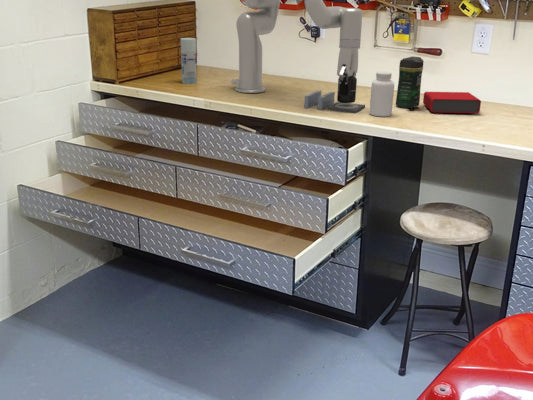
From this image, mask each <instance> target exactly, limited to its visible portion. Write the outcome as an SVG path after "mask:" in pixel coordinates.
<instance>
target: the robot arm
mask: <svg viewBox="0 0 533 400" xmlns="http://www.w3.org/2000/svg"><path fill="white" fill-rule="evenodd" d="M303 2H304V6H305V9H306V12H307V13H308V15H309V17H310V18H311V21H312V22H313V24H314V25H315V26H316V27H318V28H319V29H322V30H327V29H329V30H330V29H336V28H337V29H338V28H339V41H338V42H339V43H338V44H339V45H338V46H339V47H338V48H339V53H338V59H337V70H336V75H337V76H338V78H339V77H340V89H339V94H340V95H346V96H347V95H348V86H349V84H348V80H349V77H350V76H352V75H353V72H354V71H355V74H354V76H355V77H356V76H357V73H358V68H359V50H360V49H361V40H362V39H361V38H362V24H363V23H362V22H363V10H362V8H357V7H343V6H337V5H335V6H326V4H325V2H324V0H304V1H303ZM244 3H245V6H246V7H248V8H249V9H255V10H252V11H251V10H249V11H246V12H243V13H241V14H240V15H239V16H238V17H237V19H236V24H235V25H236V27H235V28H236V31H237V37H238V78H237V79H235V78H232V79H231V80H230V81H231V82H230V83H231V85H236V86H235V88H234V89H235V91H236V92H238V93H242V94H243V93H246V94H257V93H264V92H266V89H267V88H266V87H265V86H263V45H262V40H261V38H260V36H263V35H269V34H271V33H272V32H273V30H274V29H275V27H276V25H277V24H276V23H277V19H278V16H279V15H278V14H279V10H280V5H281V0H244ZM344 74H346V75H344ZM345 78H346V79H345ZM356 78H357V77H356Z"/></svg>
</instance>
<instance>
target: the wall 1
mask: <svg viewBox="0 0 533 400" xmlns="http://www.w3.org/2000/svg"><path fill="white" fill-rule="evenodd" d="M320 96H322V90H318V89H317V90H315V91H312V92H311V93H308V94H306V95H304V102H303V104H304V106H303V108H304V109H309V108H311V107H314V106H316V105H318V97H320Z"/></svg>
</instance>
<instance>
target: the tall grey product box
mask: <svg viewBox="0 0 533 400" xmlns="http://www.w3.org/2000/svg"><path fill="white" fill-rule="evenodd" d="M180 63H181V64H180V65H181V83H182V84H184V85H195V84H197V83H198V82H197V81H198V80H197V38H194V37H182V38H180Z"/></svg>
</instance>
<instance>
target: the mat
mask: <svg viewBox="0 0 533 400" xmlns="http://www.w3.org/2000/svg"><path fill="white" fill-rule="evenodd" d="M365 108H366V104H359V103H341V102H338V101H336V102H334V104H332V105H330V106H329V107H327V108H326V110H327V111H334V112H340V113H341V112H343V113H351V114H357V113H358V112H360V111H362V110H363V109H365Z"/></svg>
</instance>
